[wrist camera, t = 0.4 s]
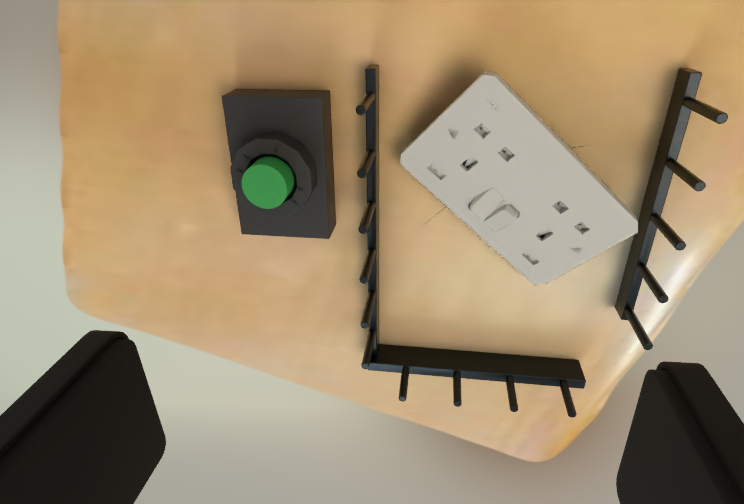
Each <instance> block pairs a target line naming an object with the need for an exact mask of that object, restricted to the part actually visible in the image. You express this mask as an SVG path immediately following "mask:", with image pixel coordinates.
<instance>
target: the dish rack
mask: <svg viewBox="0 0 744 504" xmlns="http://www.w3.org/2000/svg"><path fill="white" fill-rule="evenodd" d="M701 76H702V72H699V71H696V70H693V69H690V68H680V69H679V71H678V75H677V78H676V82H675V86H674V89H673V93H672V97H671V101H670V104H669V108H668V112H667V115H666V119H665V123H664V127H663V130H662V134H661V138H660V141H659V145H658V149H657V153H656V156H655V160H654V164H653V167H652V171H651V175H650V178H649V182H648V186H647V190H646V193H645V197H644V201H643V204H642V208H641V212H640V216H639V219H638V233H636V234H634V238H633V242H632V245H631V249H630V253H629V256H628V260H627V264H626V268H625V271H624V275H623V279H622V282H621V286H620V290H619V294H618V297H617V301H616V305H615V308H616V310H617V312H618V314H619V316H620V318H621V319H622V320H629V322H630V324H631V326H632V327H633V329H634V331H635V333H636V335H637V337H638V339H639V340H640V342H641V344H642V346H643V348H644V349H646V350H650V349H652V347H653V345H652V343H651V341H650V339H649V338H648V336H647V334H646V332H645V331H644V329H643V327H642V325H641V323H640V322H639V320H638V318H637V316H636V315H635V313H634V311H633V309H634V306H635V302H636V299H637V295H638V292H639V289H640V285H641V282H642V278H644V280H645V281H646V283H647V284H648V286H649V287H650V289H651V290H652V292H653V293H654V295H655V296H656V298H657V299H658V301H659V302H660V303H665V302H667V301H668V296H667V295H666V293H665V292H664V291H663V289H662V288H661V286H660V285H659V283H658V282H657V281H656V279H655V278H654V276H653V275H652V274H651V272H650V271H649V269H648V268H647V266H646V265H647V261H648V258H649V254H650V251H651V247H652V244H653V240H654V237H655V234H656V230H657V228H658V229H659V230H660V231H661V232H662V234H663V235H664V236H665V237H666V238H667V239H668V241H669V242H670V243H671V244H672V245H673V246H674V248H675V249H676V250H683V249H684V248H685V247H686V244H685V242H684V241H683V240H682V239H681V238H680V237H679V236H678V235H677V234H676V233H675V232H674V230H673V229H672V228H671V227H670V226H669V225H668V224H667V223H666V222H665V221H664V220H663V219H662V217H661V213H662V210H663V206H664V203H665V199H666V196H667V192H668V189H669V186H670V182H671V179H672V175H673V172H674V173H675V174H676V175H677V176H679V177H680V178H681V179H682V180H684V181H685V182H686V183H687V184H688V185H690V186H691V187H692V188H693V189H694V190H696V191H702V190H703V189H704V188H705V186H706V185H705V183H704V182H703V181H702V180H701V179H699V178H698V177H697V176H695V175H694V174H693V173H691V172H690V171H689V170H688V169H686V168H685V167H684V166H682V165H681V164H680V163H678V162H677V158H678V155H679V151H680V148H681V144H682V141H683V138H684V134H685V131H686V127H687V124H688V120H689V117H690V114H691V110H692V111H694V112H696V113H698V114H700V115H702V116H704V117H706V118H708V119H710V120H712V121H714V122H716V123H718V124H722V123H724V122H726V121H727V119H728V115H727V114H726V113H724V112H722V111H720V110H718V109H716V108H714V107H711V106H709V105H707V104H705V103H703V102H700V101H698V100H696V99H695V96H696V93H697V90H698V86H699V83H700V79H701ZM365 78H366V95H365V97H364V98H363V99H362V101H361V102H360V103H359V105H358V106H357V107H356V112H357V114H358V115H364V114H365V113H366V155H365V157H364V159H363V161H362V163H361V165H360V167H359V170H358V172H357V174H358V176H359V177H360V178H364V177H366V175H367V207H366V210H365V212H364V215H363V218H362V220H361V223H360V226H359V232H360V233H362V234H364V233H366V232H367V233H368V253H367V256H366V259H365V263H364V266H363V269H362V273H361V276H360V282H361V283H363V284H365V283H367V282H368V298H367V301H366V305H365V309H364V313H363V317H362V321H361V327H362V328H368V326H369V335H368V339H367V343H366V348H365V352H364V357H363V361H362V368H364V369H368V370H374V371H386V372H398V373H402V375H401V383H400V391H399V400H400V401H405V400H406V397H407V387H408V377H409V374H421V375H432V376H444V377H453V393H454V405H455V406H457V407H459V406H461V378H467V379H479V380H490V381H502V382H506V385H507V391H508V398H509V405H510V410H511V411H512V412H516V411H518V405H517V399H516V393H515V387H514V383H525V384H537V385H548V386H560V388H561V391H562V395H563V398H564V402H565V406H566V409H567V413H568V416H569V417H575V416H576V411H575V407H574V404H573V401H572V397H571V394H570V391H569V387H571V388H584V386H585V382H586V380H585V377H584V374H583V371H582V368H581V366H580V363H579V360H570V359H558V358H545V357H532V356H520V355H507V354H495V353H482V352H470V351H457V350H445V349H432V348H420V347H407V346H394V345H382V344H379V65H369V66H368V67H367V68H366V69H365Z"/></svg>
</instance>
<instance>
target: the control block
mask: <svg viewBox="0 0 744 504" xmlns="http://www.w3.org/2000/svg"><path fill="white" fill-rule="evenodd" d="M222 102H223V108H224V115H225V122H226V129H227V136H228V143H229V150H230V157H231V163H232V165H231V168H230V169H231V176H232V183H233V188H234V190H235V191H236V198H237V205H238V211H239V218H240V225H241V232H242V234H251V235H269V236H287V237H306V238H324V239H329V238H330V236H331V234H332V232H333V230H334V228H335V225H336V214H335V192H334V170H333V148H332V126H331V104H330V91H323V90H267V89H235V90H233V91H231V92H229V93H227V94H225V95H223V96H222ZM268 156H270V157H276V158H279V159H281V160H282V161H284V162H285V163H286V164H287V165H288V166H289V167H290V169H291V170H292V173H293V176H294V186H293V189H292V191H291V193H290V194H289V195H288V196H287V198H286V199H285V200H284V202H283V203H282V204H281V205H279V206H278V207H275V208H271V209H264V208H260V207H258V206H256V205H254V204H252V203H251V202H250V201H249V200H248V199H247V197H246V196H245V194H244V192H243V189H242V177H243V175H244V173H245V171H246V170H247V169H248V168H249V167H250V166H251V165H253V164H254V163H255V162H256V161H257V160H258V159H260V158H263V157H268Z"/></svg>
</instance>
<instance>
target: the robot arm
mask: <svg viewBox="0 0 744 504" xmlns="http://www.w3.org/2000/svg"><path fill="white" fill-rule="evenodd" d="M165 445H166V439H165V434H164V431H163V429H162V425H161V422H160V419H159V416H158V413H157V410H156V407H155V404H154V400H153V397H152V394H151V391H150V388H149V385H148V382H147V379H146V376H145V373H144V370H143V366H142V363H141V360H140V357H139V354H138V351H137V348H136V345H135V343H134V342H133V341H132V340H129V338H128V336H127V335H126V334H125V333H123V332H117V331H116V332H115V331H98V330H94V331H90V332H88V333H87V334H86V335H85V336H83V337H82V338H81V339H80V340H79V341H78V342H77V343H76V344H75V345H74V346H73V347H72V348H71V349H70V350H69V351H68V352H67V353H66V354H65V355H64V356H62V357H61V358H60V359H59V360H58V361H57V362H56V363H55V364H54V365H53V366H52V367H51V368H50V369H49V370H48V371H47V372H46V373H45V374H44V375H43V376H42V377H40V378H39V379H38V380H37V381H36V383H34V384H33V385H32V386H31V387H30V388H29V389H28V390H27V391H26V392H25V393H24V394H23V395H22V396H21V397H19V398H18V399H17V400H16V401H15V402H14V403H13V404H12V405H11V406H10V407H9V408H8V409H7V410H6V411H5V412H4V413H3V414H2V415H1V416H0V504H133V503H134V502H135V500H136V499H137V497H138V495H139V494H140V492H141V490H142V489H143V487H144V485H145V484H146V482H147V481H148V479H149V477H150V476H151V474H152V472H153V471H154V469H155V468H156V466H157V464H158V463H159V461H160V459H161V458H162V456H163V453H164V450H165ZM616 485H617V494H618V498H619V501H620V504H744V424H743V422H742V421H741V419H740V418H739V416H738V415H737V414H736V412H735V410H734V409H733V408H732V406H731V405H730V403H729V402H728V400H727V399H726V397H725V396H724V394H723V393H722V391H721V390H720V388H719V387H718V386H717V384H716V383H715V381H714V380H713V378H712V377H711V375H710V374H709V373H708V371H707V369H706V368H704V366H703V365H701V364H699V363H681V362H661V363H660V364H659V365H658V366H657V369H656V370H648V371H647V373H646V375H645V378H644V382H643V385H642V389H641V392H640V396H639V399H638V403H637V407H636V410H635V414H634V417H633V421H632V424H631V428H630V431H629V435H628V439H627V442H626V446H625V449H624V453H623V456H622V460H621V463H620V467H619V471H618V474H617V482H616Z"/></svg>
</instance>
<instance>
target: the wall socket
mask: <svg viewBox="0 0 744 504" xmlns="http://www.w3.org/2000/svg"><path fill="white" fill-rule="evenodd" d="M580 147H582V146H580ZM572 148H574V147H572ZM400 164H401V165H402V166H403V167H404V168H405V169H406V170H407V171H408V172H409V173H411V174H412V175H413V176H414V177H415V178H416V179H417V180H418V181H419V182H420V183H422V184H423V185H424V186H425V187H426V188H427V189H428V190H429V191H430V192H431V193H433V194H434V195H435V196H436V197H437V198H438V199H439V200H440V201H441V202H442V203H444V204H445V205H446V207H448V208H449V209H450V210H451V211H452V212H453V213H455V214H456V215H457V216H458V217H459V218H460V219H461V220H462V221H463V222H465V223H466V224H467V225H468V226H469V227H470V228H471V229H472V230H473V231H474V232H476V233H477V234H478V235H479V236H480V237H481V238H482V239H483V240H484V241H486V242H487V243H488V244H489V245H490V246H491V247H492V248H493V249H494V250H496V251H497V252H498V253H499V254H500V255H501V256H502V257H503V258H504V259H506V260H507V261H508V262H509V263H510V264H511V265H512V266H513V267H515V268H516V269H517V270H518V271H519V272H520V273H521V274H522V275H523V276H525V277H526V278H527V279H528V280H529V281H530V282H531V283H532V284H533V285H540V284H546V283H549V282H551V281H552V280H554V279H556V278H558V277H560V276H561V275H563V274H565V273H567V272H568V271H570V270H572V269H574V268H576V267H577V266H579V265H581V264H583V263H584V262H586V261H588V260H590V259H592V258H593V257H595V256H597V255H599V254H601V253H602V252H604V251H606V250H608V249H609V248H611V247H613V246H615V245H617V244H618V243H620V242H622V241H624V240H625V239H627V238H629V237H631V236H633V235H634V234H636V233H638V220H637V217H636V216H635V215H634V214H633V213H632V212H631V211H630V210H629V209H628V208H627V207H626V206H625V205H624V204H623V203H622V202H621V201H620V199H619V198H618V197H617V196H616V195H615V194H614V193H613V192H612V191H611V190H610V189H609V188H608V187H607V186H606V185H605V184H604V183H603V182H602V181H601V180H600V179H599V178H598V177H597V176H596V175H595V174H594V173H593V172H592V171H591V170H590V169H589V168H588V167H587V166H586V165H585V164H584V163H583V162H582V161H581V160H580V158H579V157H578V156H577V155H576V154H575V153H574V152H573V151H572V150H571V149H570V148H569V147H568V146H567V145H566V144H565V143H564V142H563V141H562V140H561V139H560V138H559V137H558V136H557V135H556V134H555V133H554V132H553V131H552V130H551V129H550V128H549V127H548V126H547V125H546V124H545V123H544V122H543V121H542V120H541V119H540V118H539V116H538V115H537V114H536V113H535V112H534V111H533V110H532V109H531V108H530V107H529V106H528V105H527V104H526V103H525V102H524V101H523V100H522V99H521V98H520V97H519V96H518V95H517V94H516V93H515V92H514V91H513V90H512V89H511V88H510V87H509V86H508V85H507V84H506V83H505V82H504V81H503V80H502V79H501V78H500V77H499V76H498V74H497V73H492V72H484V73H483V74H481V75H480V76H479V77H478V78H477V79H476V80H475V81H474V82H473V83H472V84H471V85H470V86H469V87H468V88H467V89H466V90H465V91H464V92H463V93H462V94H461V95H460V96H459V97H458V98H457V99H456V100H455V101H454V102H453V103H452V104H451V105H450V106H449V107H448V108H447V109H445V110H444V111H443V112H442V113H441V114H440V115H439V116H438V117H437V118H436V119H435V120H434V121H433V122H432V123H431V124H430V125H429V126H428V127H427V128H426V129H425V130H424V131H423V132H422V133H421V134H420V135H419V136H418V137H417V138H416V139H415V140H414V141H413V142H412V143H411V144H409V145H408V146H407V147H406V148H405V149H404V150H403V151H402V153H401V162H400ZM442 210H443V209H442ZM442 210H441V211H442ZM436 215H437V214H436ZM431 219H432V218H431ZM426 223H427V222H426ZM421 227H422V226H421Z"/></svg>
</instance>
